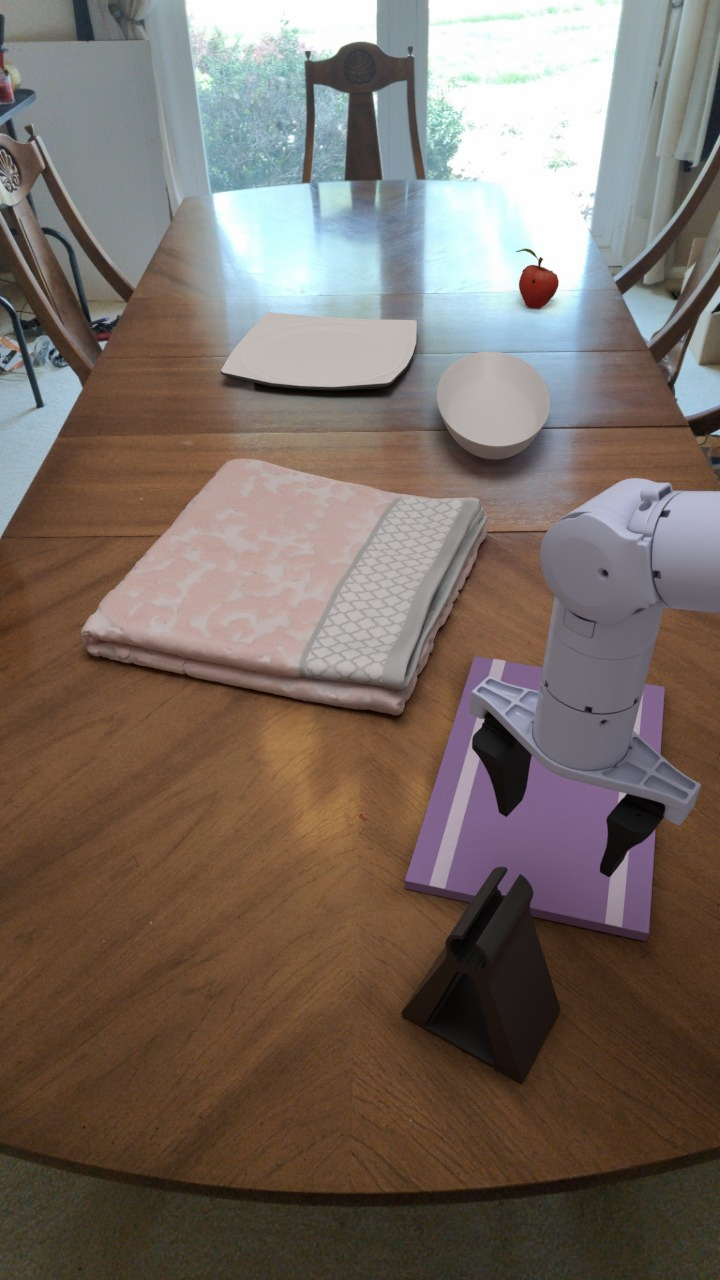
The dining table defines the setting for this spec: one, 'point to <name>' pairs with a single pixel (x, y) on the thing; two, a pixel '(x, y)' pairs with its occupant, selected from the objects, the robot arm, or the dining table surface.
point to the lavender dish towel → (533, 828)
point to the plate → (323, 352)
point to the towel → (295, 587)
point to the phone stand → (490, 982)
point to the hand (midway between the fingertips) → (559, 834)
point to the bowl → (493, 403)
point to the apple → (537, 284)
